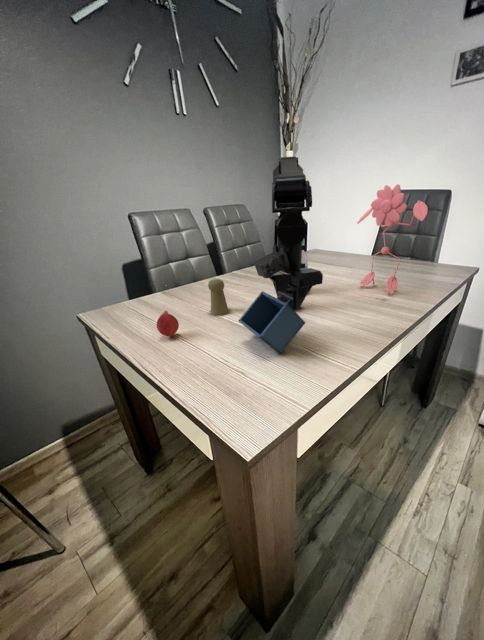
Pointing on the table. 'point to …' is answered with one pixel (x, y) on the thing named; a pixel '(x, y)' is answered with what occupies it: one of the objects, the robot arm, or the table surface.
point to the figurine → (390, 223)
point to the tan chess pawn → (217, 297)
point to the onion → (167, 324)
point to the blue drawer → (273, 320)
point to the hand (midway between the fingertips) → (288, 305)
